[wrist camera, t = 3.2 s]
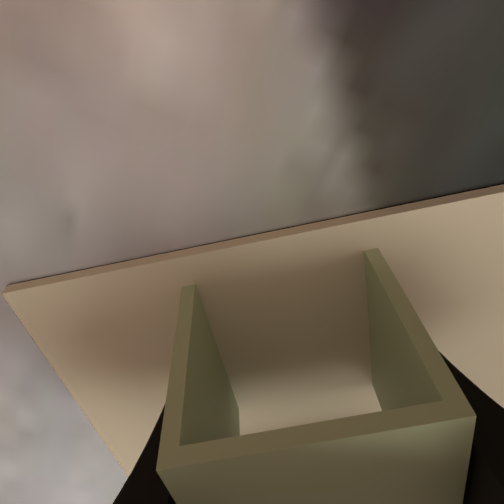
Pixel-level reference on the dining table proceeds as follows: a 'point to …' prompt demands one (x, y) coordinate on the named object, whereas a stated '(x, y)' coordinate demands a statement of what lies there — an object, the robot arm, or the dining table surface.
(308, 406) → the mat
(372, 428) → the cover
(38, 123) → the dining table surface
